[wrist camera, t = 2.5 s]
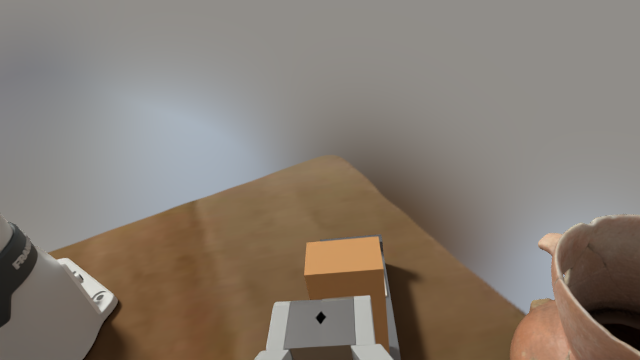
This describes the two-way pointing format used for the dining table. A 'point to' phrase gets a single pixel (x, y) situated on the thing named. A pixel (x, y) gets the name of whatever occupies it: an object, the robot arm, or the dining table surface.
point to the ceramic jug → (587, 295)
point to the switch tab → (349, 276)
